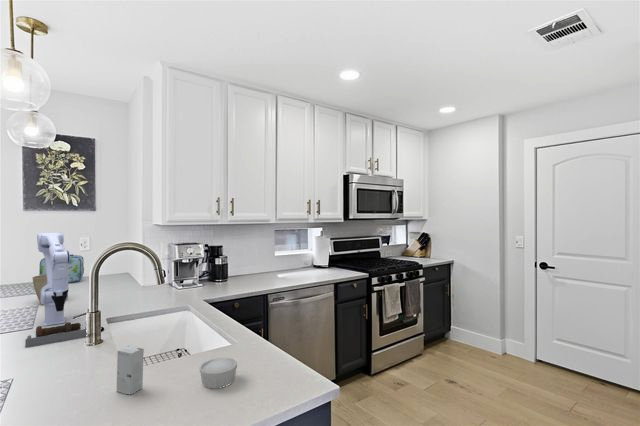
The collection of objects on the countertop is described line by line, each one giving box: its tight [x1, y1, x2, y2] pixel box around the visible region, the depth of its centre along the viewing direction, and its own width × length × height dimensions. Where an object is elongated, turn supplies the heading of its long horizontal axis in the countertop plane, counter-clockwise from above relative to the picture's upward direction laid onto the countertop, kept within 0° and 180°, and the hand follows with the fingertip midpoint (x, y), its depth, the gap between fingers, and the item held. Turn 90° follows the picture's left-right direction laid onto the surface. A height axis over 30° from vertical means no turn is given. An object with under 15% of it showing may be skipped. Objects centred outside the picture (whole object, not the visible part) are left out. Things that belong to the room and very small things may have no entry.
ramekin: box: [199, 357, 238, 389], centre depth 105 cm, size 11×11×5 cm
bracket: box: [24, 326, 87, 348], centre depth 140 cm, size 7×20×3 cm, turn 125°
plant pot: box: [32, 275, 47, 306], centre depth 195 cm, size 15×15×16 cm
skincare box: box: [116, 344, 145, 396], centre depth 100 cm, size 6×4×12 cm
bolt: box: [35, 321, 82, 337], centre depth 145 cm, size 6×5×15 cm
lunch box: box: [38, 254, 85, 284], centre depth 252 cm, size 26×11×21 cm, turn 115°
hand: (60, 308), depth 151 cm, fingers open, 7 cm apart
